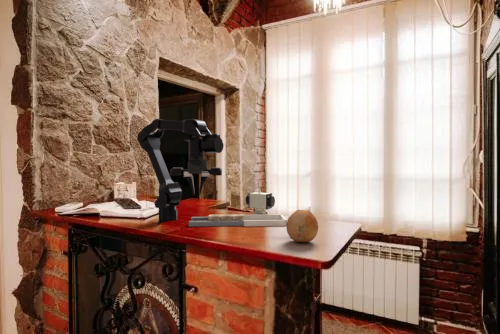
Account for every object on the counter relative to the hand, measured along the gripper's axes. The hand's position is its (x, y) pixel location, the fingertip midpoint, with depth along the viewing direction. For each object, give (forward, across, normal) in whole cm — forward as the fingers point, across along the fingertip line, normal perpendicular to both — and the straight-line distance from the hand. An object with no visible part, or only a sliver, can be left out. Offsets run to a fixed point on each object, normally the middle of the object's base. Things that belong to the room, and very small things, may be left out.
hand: (196, 194), depth 116 cm
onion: (+12, +34, -24) cm, 44 cm away
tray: (+12, +25, 0) cm, 28 cm away
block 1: (+11, +6, 0) cm, 13 cm away
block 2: (+11, +11, 0) cm, 16 cm away
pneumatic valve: (+12, +26, +12) cm, 31 cm away
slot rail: (+12, +8, 0) cm, 14 cm away
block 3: (+11, +16, 0) cm, 19 cm away
